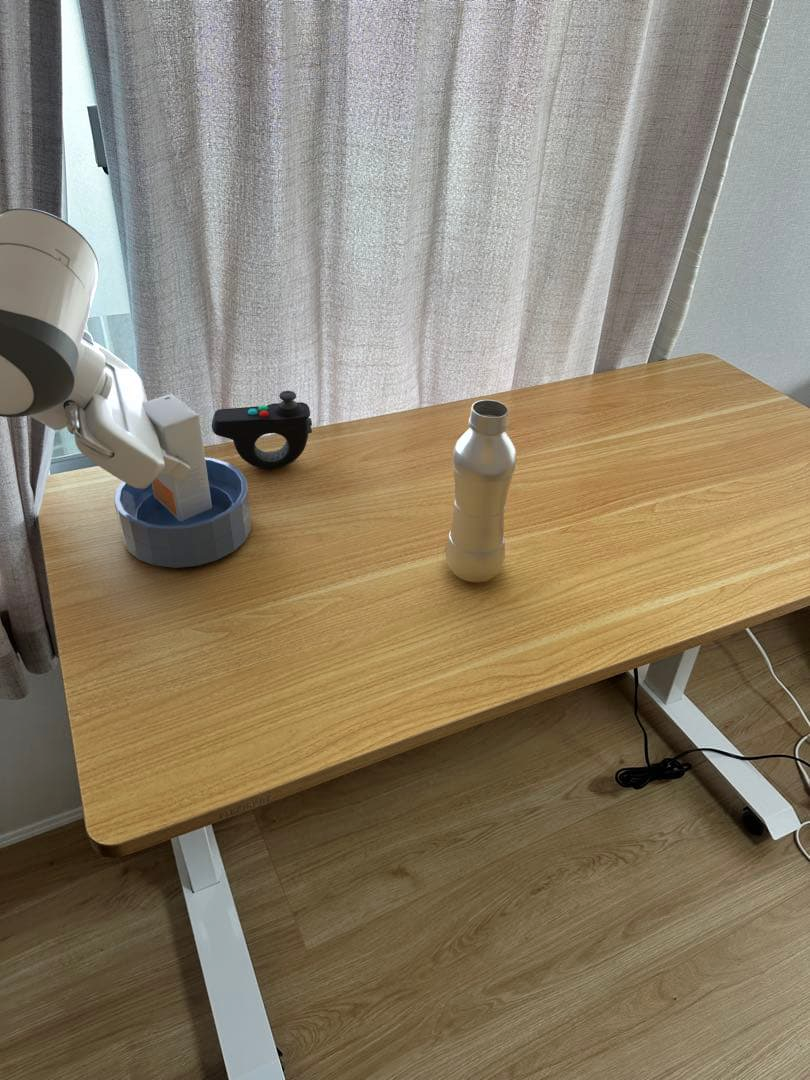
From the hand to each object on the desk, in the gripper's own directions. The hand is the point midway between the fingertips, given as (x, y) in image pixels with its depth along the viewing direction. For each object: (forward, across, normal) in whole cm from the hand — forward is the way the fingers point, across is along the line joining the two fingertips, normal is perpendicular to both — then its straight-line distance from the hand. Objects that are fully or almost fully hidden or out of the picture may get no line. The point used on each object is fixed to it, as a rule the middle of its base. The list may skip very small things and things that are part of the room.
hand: (180, 452), depth 86 cm
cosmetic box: (+4, 0, +5) cm, 7 cm away
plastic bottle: (+27, -17, -12) cm, 34 cm away
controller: (+16, +11, 0) cm, 19 cm away
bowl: (+7, 0, +8) cm, 11 cm away
